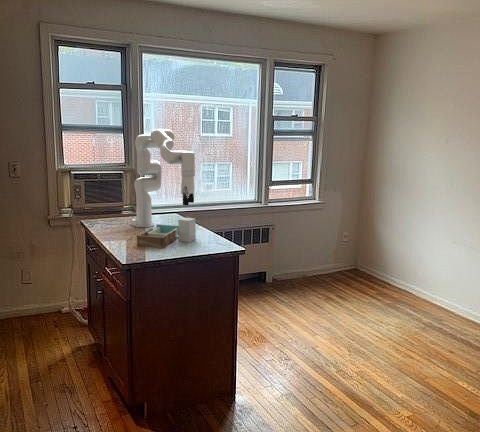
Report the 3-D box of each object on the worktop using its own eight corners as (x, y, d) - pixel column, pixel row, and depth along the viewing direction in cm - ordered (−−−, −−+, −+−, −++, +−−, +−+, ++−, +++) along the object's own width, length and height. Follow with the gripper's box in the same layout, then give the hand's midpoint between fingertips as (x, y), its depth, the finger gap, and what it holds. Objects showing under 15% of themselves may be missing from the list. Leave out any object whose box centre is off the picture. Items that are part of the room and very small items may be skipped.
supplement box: (196, 239, 269) (196, 218, 266) (189, 242, 262) (189, 220, 260) (185, 238, 272) (184, 217, 270) (178, 241, 265) (178, 219, 263)
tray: (157, 233, 279) (157, 224, 278) (181, 234, 276) (181, 225, 275) (143, 240, 261) (143, 231, 260) (170, 242, 258) (169, 232, 257)
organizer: (151, 238, 270) (151, 228, 269) (175, 240, 267) (175, 230, 266) (137, 246, 252) (136, 235, 251) (163, 248, 249) (162, 237, 248)
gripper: (186, 172, 270) (187, 201, 273) (176, 175, 254) (177, 205, 257) (199, 172, 269) (199, 201, 272) (189, 175, 252) (190, 206, 255)
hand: (188, 203), depth 264 cm, fingers open, 9 cm apart
